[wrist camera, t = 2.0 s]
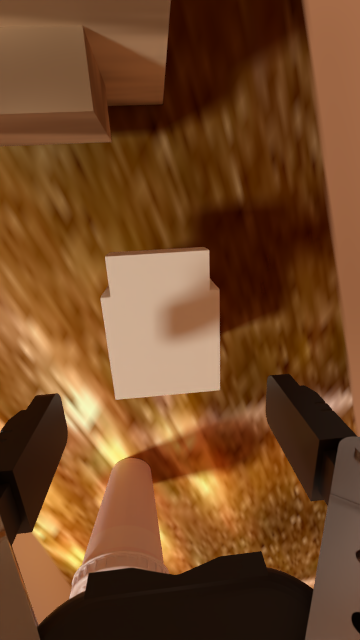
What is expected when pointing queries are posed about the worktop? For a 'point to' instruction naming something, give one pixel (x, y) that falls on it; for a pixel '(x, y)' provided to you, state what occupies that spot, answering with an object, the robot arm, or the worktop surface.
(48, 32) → the cleat board
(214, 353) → the wall box
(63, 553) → the worktop surface
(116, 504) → the smoothie
